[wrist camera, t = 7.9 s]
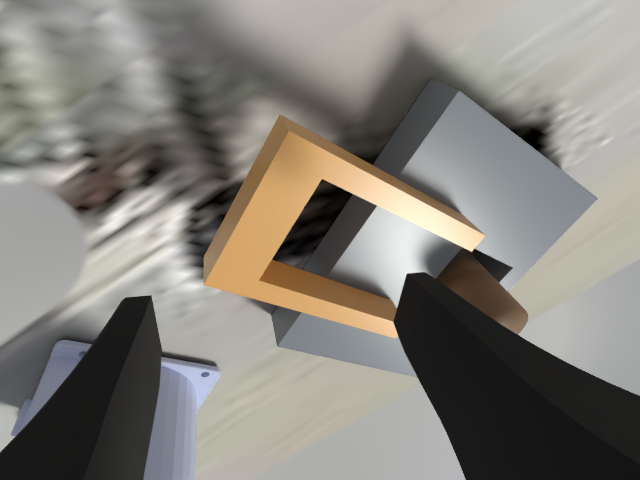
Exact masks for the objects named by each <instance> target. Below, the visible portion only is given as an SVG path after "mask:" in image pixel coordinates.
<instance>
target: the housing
mask: <svg viewBox="0 0 640 480" xmlns="http://www.w3.org/2000/svg"><path fill="white" fill-rule="evenodd" d="M373 166H375V167H377V168H379V169H381V170H382V171H384V172H386V173H388V174H390V175H391V176H393V177H395V178H397V179H399V180H401V181H402V182H404V183H406V184H408V185H410V186H412V187H413V188H415V189H417V190H419V191H421V192H422V193H424V194H426V195H428V196H430V197H432V198H433V199H435V200H437V201H439V202H441V203H442V204H444V205H446V206H448V207H450V208H452V209H453V210H455V211H457V212H459V213H461V214H463V215H464V216H465V217H466V218H467V219H468V220H469V221H470V222H471V223H473V224H474V225H475V226H476V227H477V228H478V229H479V230H480V231H481V232H482V233H483V234H485V235H486V236H485V237H484V238H483V239H482V240H481V242H480V243H479V244H478V245H477V246H476V247H475V249H476V250H478V251H480V252H482V253H481V254H480V255H479V256H478V257H477V258H476V259H477V260H478V261H479V262H480V263H481V264H482V266H483V267H484V268H485V269H486V270H487V271H488V272H489V273H490V274H491V275H492V276H493V277H494V278H495V279H496V280H497V281H498V282H499V283H500V284H501V285H502V286H503V287H504V288H505V289H506V291H507V292H508V291H509V290H510V289H511V288H512V287H513V286H514V285H515V283H516V282H517V281H518V280H519V279H520V278H521V277H522V276H523V275H524V274H525V273H526V272H527V271H528V270H529V269H530V268H531V267H532V266H533V265H534V264H535V263H536V262H537V261H538V260H539V259H540V258H541V257H542V256H543V255H544V254H545V253H546V251H547V250H548V249H549V248H550V247H551V246H552V245H553V244H554V243H555V242H556V241H557V240H558V239H559V238H560V237H561V236H562V235H563V234H564V233H565V232H566V231H567V230H568V229H569V228H570V227H571V226H572V225H573V224H574V223H575V222H576V221H577V219H578V218H579V217H580V216H581V215H582V214H583V213H584V212H585V211H586V210H587V209H588V208H589V207H590V206H591V205H592V204H593V203H594V202H595V201H596V200H597V199H598V198H597V197H596V196H594V195H593V194H592V193H591V192H589V191H588V190H587V189H585V188H584V187H583V186H582V185H580V184H579V183H578V182H576V181H575V180H574V179H573V178H571V177H570V176H569V175H567V174H566V173H565V172H564V171H562V170H561V169H560V168H558V167H557V166H556V165H555V164H553V163H552V162H551V161H549V160H548V159H547V158H546V157H544V156H543V155H542V154H540V153H539V152H538V151H537V150H535V149H534V148H533V147H531V146H530V145H529V144H528V143H526V142H525V141H524V140H522V139H521V138H520V137H519V136H517V135H516V134H515V133H513V132H512V131H511V130H510V129H508V128H507V127H506V126H504V125H503V124H502V123H501V122H499V121H498V120H497V119H495V118H494V117H493V116H492V115H490V114H489V113H488V112H486V111H485V110H484V109H483V108H481V107H480V106H479V105H477V104H476V103H475V102H474V101H472V100H471V99H470V98H468V97H467V96H466V95H465V94H463V93H462V92H461V91H459V90H457V89H455V88H453V87H450V86H448V85H446V84H444V83H441V82H439V81H437V80H434V79H432V78H431V79H430V80H429V82H428V83H427V85H426V86H425V88H424V89H423V91H422V92H421V94H420V95H419V97H418V98H417V100H416V101H415V103H414V104H413V106H412V107H411V108H410V110H409V111H408V113H407V114H406V116H405V117H404V119H403V120H402V122H401V123H400V125H399V126H398V128H397V129H396V131H395V132H394V134H393V135H392V137H391V138H390V140H389V141H388V143H387V144H386V146H385V147H384V149H383V150H382V152H381V153H380V155H379V156H378V158H377V159H376V161H375V162H374V164H373ZM461 248H462V247H461V246H459V245H457V244H455V243H453V242H451V241H449V240H447V239H445V238H442V237H440V236H438V235H436V234H434V233H432V232H430V231H428V230H426V229H424V228H422V227H420V226H418V225H416V224H414V223H412V222H410V221H408V220H406V219H403V218H401V217H399V216H397V215H395V214H393V213H391V212H389V211H387V210H385V209H383V208H381V207H379V206H377V205H375V204H373V203H371V202H369V201H366V200H364V199H362V198H360V197H358V196H356V195H354V194H353V195H352V196H351V198H350V199H349V201H348V202H347V204H346V205H345V207H344V208H343V210H342V211H341V213H340V214H339V216H338V217H337V219H336V220H335V222H334V223H333V225H332V226H331V228H330V229H329V231H328V232H327V234H326V235H325V237H324V238H323V240H322V241H321V242H320V244H319V245H318V247H317V248H316V250H315V251H314V253H313V254H312V256H311V257H310V259H309V260H308V262H307V263H306V265H305V266H304V268H303V269H302V270H304V271H307V272H310V273H313V274H316V275H319V276H322V277H325V278H327V279H330V280H333V281H336V282H339V283H342V284H345V285H348V286H351V287H354V288H357V289H360V290H363V291H366V292H369V293H371V294H374V295H377V296H380V297H383V298H386V299H389V300H392V301H393V303H394V305H395V306H396V308H397V307H398V303H399V300H400V296H401V292H402V289H403V285H404V281H405V278H406V274H408V273H419V272H425V273H427V274H429V275H430V276H432V277H433V278H435V279H436V278H437V276H438V275H439V274H440V273H441V272H442V271H443V269H444V268H445V267H446V266H447V265H448V264H449V262H450V261H451V260H452V259H453V258H454V257H455V255H456V254H457V253H458V252H459V251H460V250H461ZM271 316H272V321H273V326H274V332H275V337H276V342H277V346H278V347H282V348H287V349H291V350H296V351H300V352H305V353H309V354H314V355H318V356H323V357H327V358H332V359H336V360H341V361H345V362H350V363H354V364H359V365H363V366H368V367H372V368H377V369H381V370H386V371H390V372H395V373H399V374H404V375H408V376H413V377H417V375H416V373H415V371H414V370H413V368H412V366H411V364H410V362H409V360H408V358H407V356H406V354H405V352H404V350H403V347H402V345H401V342H400V340H399V337H397V338H392V337H388V336H385V335H381V334H378V333H374V332H371V331H367V330H363V329H360V328H356V327H353V326H349V325H345V324H342V323H338V322H335V321H331V320H328V319H324V318H320V317H317V316H313V315H310V314H306V313H302V312H299V311H295V310H292V309H288V308H285V307H281V306H278V307H277V308H276V309H275V311H274V312H273V314H272V315H271ZM417 378H418V377H417Z"/></svg>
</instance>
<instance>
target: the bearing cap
mask: <svg viewBox="0 0 640 480" xmlns="http://www.w3.org/2000/svg"><path fill="white" fill-rule="evenodd" d="M322 179H323V180H325V181H327V182H330V183H332V184H334V185H336V186H338V187H340V188H342V189H344V190H346V191H348V192H350V193H352V194H354V195H356V196H358V197H360V198H362V199H364V200H366V201H369V202H371V203H373V204H375V205H377V206H379V207H381V208H383V209H385V210H387V211H389V212H391V213H393V214H395V215H397V216H399V217H401V218H403V219H406V220H408V221H410V222H412V223H414V224H416V225H418V226H420V227H422V228H424V229H426V230H428V231H430V232H432V233H434V234H436V235H438V236H440V237H442V238H445V239H447V240H449V241H451V242H453V243H455V244H457V245H459V246H461V247H463V248H465V249H467V250H469V251H471V252H472V251H473V250H474V249H475V247H476V246H477V245H478V244H479V243H480V242H481V240H482V239H483V238H484V237H485V236H486V235H485V234H483V233H482V232H481V231H480V230H479V229H478V228H477V227H476V226H475V225H474V224H473V223H471V222H470V221H469V220H468V219H467V218H466V217H465V216H464V215H463V214H461V213H459V212H457V211H455V210H453V209H452V208H450V207H448V206H446V205H444V204H442V203H441V202H439V201H437V200H435V199H433V198H432V197H430V196H428V195H426V194H424V193H422V192H421V191H419V190H417V189H415V188H413V187H412V186H410V185H408V184H406V183H404V182H402V181H401V180H399V179H397V178H395V177H393V176H391V175H390V174H388V173H386V172H384V171H382V170H381V169H379V168H377V167H375V166H373V165H371V164H370V163H368V162H366V161H364V160H362V159H360V158H359V157H357V156H355V155H353V154H351V153H350V152H348V151H346V150H344V149H342V148H340V147H339V146H337V145H335V144H333V143H331V142H329V141H328V140H326V139H324V138H322V137H320V136H319V135H317V134H315V133H313V132H311V131H309V130H308V129H306V128H304V127H302V126H300V125H299V124H297V123H295V122H293V121H291V120H289V119H288V118H286V117H284V116H282V115H279V117H278V119H277V121H276V123H275V124H274V126H273V128H272V130H271V132H270V134H269V136H268V138H267V139H266V141H265V143H264V145H263V147H262V149H261V151H260V153H259V154H258V156H257V158H256V160H255V162H254V164H253V166H252V168H251V169H250V171H249V173H248V175H247V177H246V179H245V181H244V183H243V184H242V186H241V188H240V190H239V192H238V194H237V196H236V198H235V199H234V201H233V203H232V205H231V207H230V209H229V211H228V213H227V214H226V216H225V218H224V220H223V222H222V224H221V226H220V228H219V229H218V231H217V233H216V235H215V237H214V239H213V241H212V243H211V244H210V246H209V248H208V250H207V252H206V254H205V256H204V285H206V286H209V287H213V288H217V289H220V290H224V291H227V292H231V293H234V294H238V295H242V296H245V297H249V298H252V299H256V300H260V301H263V302H267V303H270V304H274V305H277V306H281V307H285V308H288V309H292V310H295V311H299V312H302V313H306V314H310V315H313V316H317V317H320V318H324V319H328V320H331V321H335V322H338V323H342V324H345V325H349V326H353V327H356V328H360V329H363V330H367V331H371V332H374V333H378V334H381V335H385V336H388V337H392V338H397V337H398V334H397V331H396V328H395V326H394V323H393V322H394V318H395V314H396V311H397V308H396V306H395V305H394V303H393V301H392V300H389V299H386V298H383V297H380V296H377V295H374V294H371V293H369V292H366V291H363V290H360V289H357V288H354V287H351V286H348V285H345V284H342V283H339V282H336V281H333V280H330V279H327V278H325V277H322V276H319V275H316V274H313V273H310V272H307V271H304V270H301V269H298V268H295V267H292V266H289V265H286V264H283V263H281V262H278V261H275V260H272V258H273V257H274V255H275V254H276V252H277V250H278V249H279V247H280V246H281V244H282V242H283V241H284V239H285V237H286V236H287V234H288V233H289V231H290V229H291V228H292V226H293V225H294V223H295V221H296V220H297V218H298V217H299V215H300V213H301V212H302V210H303V209H304V207H305V205H306V204H307V202H308V201H309V199H310V197H311V196H312V194H313V193H314V191H315V189H316V188H317V186H318V185H319V183H320V181H321V180H322Z"/></svg>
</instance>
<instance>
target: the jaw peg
mask: <svg viewBox="0 0 640 480" xmlns="http://www.w3.org/2000/svg"><path fill="white" fill-rule="evenodd" d="M436 280H438V281H439V282H441V283H442V284H444V285H445V286H446V287H448V288H449V289H451V290H452V291H453V292H455V293H456V294H458V295H459V296H460V297H462V298H463V299H465V300H466V301H468V302H469V303H470V304H472V305H473V306H475V307H476V308H478V309H479V310H480V311H482V312H483V313H485V314H486V315H488V316H489V317H491V318H492V319H494V320H495V321H497V322H498V323H500V324H501V325H503V326H504V327H506V328H508V329H509V330H511V331H512V332H514V333H516V334H517V335H518V334H519V333H520V332H521V331H522V329H523V328H524V327H525V325H526V323H527V320H528V314H527V312H526V310H525V309H524V308H523V307H522V306H521V305H520V304H519V303H518V302H517V301H516V300H515V299H514V298H513V297H512V296H511V295H510V294H509V293H508V292H507V291H506V289H505V288H504V287H503V286H502V285H501V284H500V283H499V282H498V281H497V280H496V279H495V278H494V277H493V276H492V275H491V274H490V273H489V272H488V271H487V270H486V269H485V268H484V267H483V266H482V264H481V263H480V262H479V261H478V260H477V259H476V258H475V257H474V256H473V255H472V254H471V253H470V252H469V251H468V250H467V249H465V248H463V247H462V248H461V250H460V251H459V252H458V253H457V254H456V255H455V257H454V258H453V259H452V260H451V261H450V262H449V264H448V265H447V266H446V267H445V268H444V269H443V271H442V272H441V273H440V274H439V275H438V276H437V278H436Z"/></svg>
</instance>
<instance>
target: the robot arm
mask: <svg viewBox="0 0 640 480" xmlns="http://www.w3.org/2000/svg"><path fill="white" fill-rule="evenodd" d="M393 323H394V326H395V328H396V331H397V334H398V337H399V340H400V342H401V345H402V347H403V350H404V352H405V354H406V356H407V358H408V360H409V362H410V364H411V366H412V368H413V370H414V371H415V373H416V375H417V377H418V379H419V381H420V383H421V385H422V386H423V388H424V390H425V392H426V393H427V396H428V398H429V399H430V401H431V403H432V405H433V407H434V409H435V411H436V412H437V414H438V416H439V418H440V420H441V422H442V424H443V426H444V428H445V430H446V432H447V435H448V437H449V439H450V442H451V444H452V446H453V449H454V451H455V453H456V456H457V458H458V461H459V463H460V465H461V468H462V471H463V473H464V476H465V478H466V480H640V396H638V395H636V394H633V393H631V392H629V391H626V390H624V389H622V388H620V387H617V386H615V385H612V384H610V383H608V382H606V381H604V380H602V379H599V378H597V377H595V376H593V375H591V374H589V373H587V372H585V371H583V370H581V369H578V368H576V367H575V366H573V365H570V364H569V363H567V362H565V361H563V360H561V359H559V358H557V357H555V356H554V355H552V354H550V353H548V352H546V351H544V350H543V349H540V348H539V347H537V346H535V345H534V344H532V343H530V342H529V341H527V340H525V339H523V338H522V337H520V336H519V335H517V334H516V333H514V332H512V331H511V330H509V329H508V328H506V327H504V326H503V325H501V324H500V323H498V322H497V321H495V320H494V319H492V318H491V317H489V316H488V315H486V314H485V313H483V312H482V311H480V310H479V309H478V308H476V307H475V306H473V305H472V304H470V303H469V302H468V301H466V300H465V299H463V298H462V297H460V296H459V295H458V294H456V293H455V292H453V291H452V290H451V289H449V288H448V287H446V286H445V285H444V284H442V283H441V282H439V281H438V280H436V279H435V278H433V277H432V276H430V275H429V274H427V273H425V272H419V273H408V274H406V278H405V281H404V285H403V289H402V292H401V296H400V300H399V303H398V307H397V311H396V314H395V318H394V322H393ZM82 351H85V352H82ZM161 356H162V348H161V343H160V338H159V333H158V328H157V323H156V317H155V312H154V307H153V302H152V297H151V296H139V297H128V298H125V299H123V300H122V301H121V303H120V304H119V306H118V307H117V309H116V311H115V312H114V314H113V315H112V317H111V318H110V320H109V321H108V323H107V324H106V326H105V327H104V329H103V330H102V331H101V333H100V334H99V336H98V337H97V338H96V340H95V341H94V343H93V344H87V343H81V342H75V341H70V340H61V341H58V342H57V343H56V344H55V346H54V348H53V351H52V354H51V356H50V359H49V361H48V363H47V366H46V368H45V371H44V373H43V376H42V378H41V380H40V383H39V385H38V388H37V390H36V393H35V395H34V397H33V399H26V400H25V402H24V404H23V406H22V408H21V411H20V413H19V415H18V418H17V420H16V423H15V425H14V428H13V430H12V433H11V435H12V436H16V437H15V438H14V439H13V440H12V441H11V442H10V443H9V444H8V445H7V446H6V447H5V448H4V449H3V450H2V451H1V452H0V480H195V464H196V417H197V411H198V409H199V407H200V406H201V404H202V403H203V401H204V400H205V398H206V397H207V395H208V394H209V392H210V391H211V389H212V388H213V386H214V385H215V383H216V382H217V380H218V378H219V377H220V369H219V368H218V367H215V366H210V365H204V364H199V363H193V362H187V361H182V360H176V359H171V358H165V357H161Z"/></svg>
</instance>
